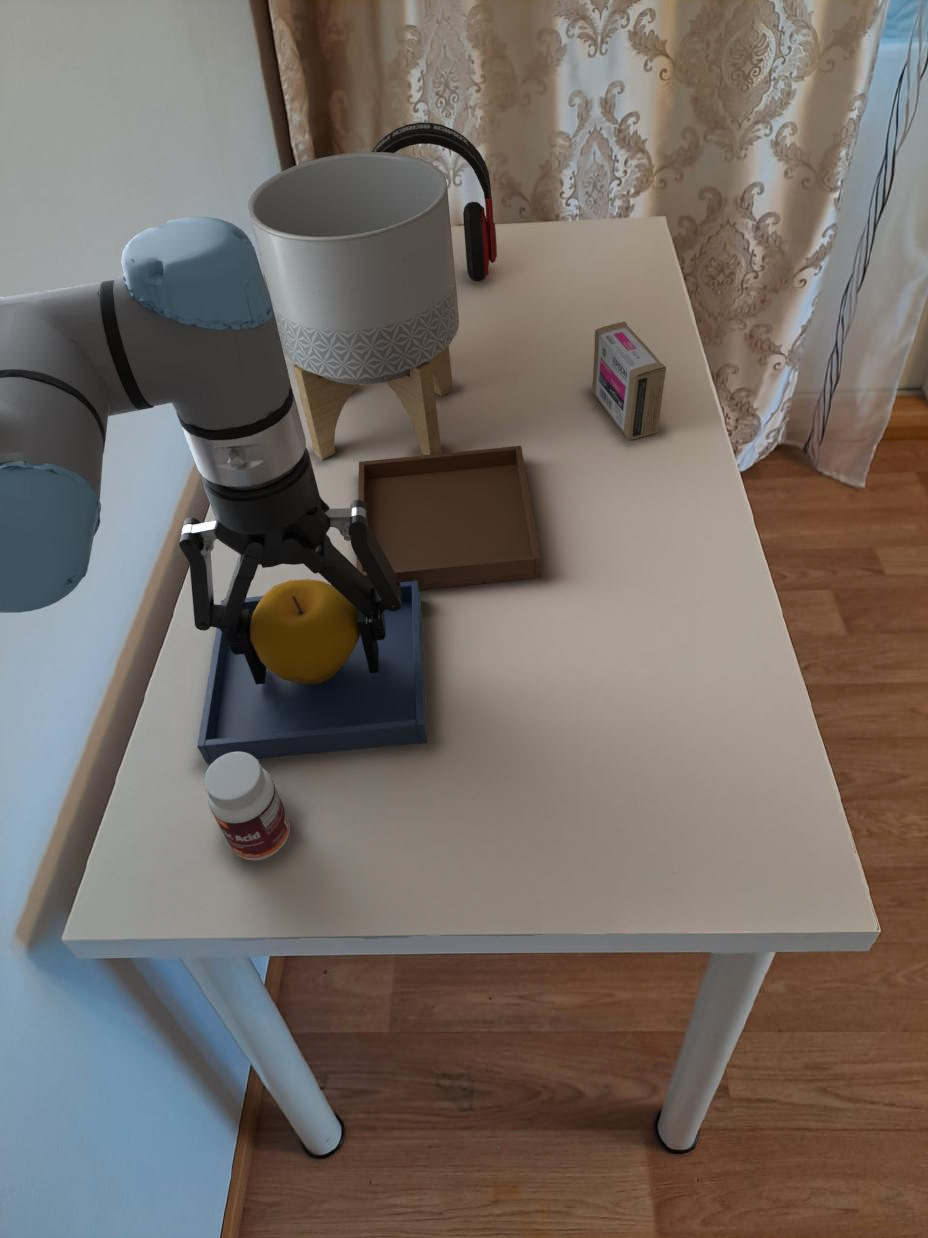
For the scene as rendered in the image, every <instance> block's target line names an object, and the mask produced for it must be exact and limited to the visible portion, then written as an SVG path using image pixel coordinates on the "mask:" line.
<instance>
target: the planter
mask: <svg viewBox="0 0 928 1238" xmlns="http://www.w3.org/2000/svg"><path fill="white" fill-rule="evenodd" d="M247 210H248V216H249V219H250V223H251V227H252V231H253V234H254V238H255V242H256V243H255V244H256V247H257V250H258V251H257V252H258V255H259V258H260V262H261V267H262V270H263V271H262V272H263V276H264V280H265V284H266V288H267V291H268V292H269V293H270V297H271V302H272V306H273V310H274V314H275V319H276V323H277V327H278V331H279V336H280V340H281V344H282V348H283V352H284V354H285V355H286V357H287V358H288V359H289V361H291V362H292V364H294V365H293V366H292V368H293V372H294V377H295V379H296V385H297V388H298V392H299V396H300V400H301V405H302V409H303V412H304V413H303V414H304V416H305V420H306V424H307V428H308V432H309V438H310V441H311V444H312V448H313V453H314V455H315V456H316V457H317V458H319V459H320V460H321V461H323V460H326V459H327V458H329V457H331V456H333V455H335V454H336V448H335V436H336V428H337V424H338V420H339V419H340V418H339V417H340V415H341V412H342V410H343V408H344V406H345V405H346V403H347V401H348V399H349V398H350V396H351V395H352V394H353V393H354V392H355V390H356V389H357V388H358V387H359V386H360V385H361V386H362V385H377V384H382V383H386V384H387V385H388V386H389V387H390V388H391V390H392V391H393V392H394V394H395V395H396V396H397V398H398V399H399V401H400V402H401V404H402V406H403V407H404V409H405V411H406V413H407V415H408V417H409V419H410V422H411V423H412V426H413V429H414V431H415V435H416V437H417V440H418V445H419V451H420V454H422V455H432V454H442V453H443V451H442V450H443V449H442V442H441V434H440V427H439V425H440V424H439V419H438V418H439V417H438V416H439V415H438V409H437V401H436V400H437V399H436V394H437V395H438V396H440V397H442V396H445V395H447V394H449V393H450V392H452V391H454V384H453V375H452V365H451V354H450V344H451V343H452V342H453V340H454V339H455V338H456V336H457V333H458V331H459V326H460V315H459V304H458V303H459V302H458V293H457V281H456V270H455V269H456V268H455V259H454V248H453V247H454V246H453V236H452V223H451V214H450V201H449V191H448V182H447V177H446V176H445V174H444V173H443V171H442V170H441V169H440V168H438V166H436V165H435V164H433V163H432V162H429V161H427V160H425V159H423V158H420V157H417V156H413V155H408V154H403V153H397V152H395V153H388V152H372V151H367V152H366V151H361V152H351V153H342V154H336V155H334V154H333V155H330V156H325V157H320V158H319V157H318V158H315V159H312V160H309V161H304V162H302V163H299V164H297V165H293V166H292V167H288V168H286V169H285V170H281V171H280V172H278V173H276V174H275V175H272V176H271V177H270V178H268V179H266V180H265V181H264V182H263V183H261V184H259V186H258V187H257V188H256V189H255V190H254V192H253V193H252V194H251V196H250V198H249V200H248V205H247Z"/></svg>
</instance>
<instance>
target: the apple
mask: <svg viewBox="0 0 928 1238" xmlns="http://www.w3.org/2000/svg"><path fill="white" fill-rule="evenodd" d="M263 596H264V597H263V598H262V599H261V600H260V602H259V603H258V605H257V607H256V609H255V610H254V612H253V615H252V619H251V623H250V626H249V633H250V640H251V642H252V644H253V646H254V648H255V650H256V653H257V655H258V657H259V659H260V661H261V662H262V663H263V664H264V665H265V666H266V667H267V669H268V670H269V671H271V672H272V673H274V674H276V675H277V676H279V677H280V678H282V679H284V680H287V681H291V682H296V683H300V684H320V683H322V682H324V681H326V680H328V679H330V678H331V677H332V676H334V675H335V674H336V673H337V672H338V670H339V669H340V668H341V667H342V666H343V665H344V664H345V663H346V661H347V660H348V658H349V656H350V655H351V653H352V652H353V650H354V648H355V646H356V644H357V642H358V640H359V637H360V631H359V627H358V623H357V619H358V611H357V609H356V607H355V606H354V605H353V604H352V603H351V602H349V601H348V600H347V599H346V598H345V597H344V596H343V595H342V594H341V593H340V592H339V591H338V590H337V589H335V588H334V587H333V586H332V585H331V584H330V583H329V582H325V581H322V580H316V579H311V578H308V579H307V578H305V579H292V580H291V579H289V580H287V581H284V582H282V583H279V584H276V585H274V586H273V587H272V588H271V589H269V590H268V591H267V592H266V593H265V594H264V595H263Z"/></svg>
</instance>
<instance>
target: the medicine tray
mask: <svg viewBox="0 0 928 1238" xmlns="http://www.w3.org/2000/svg"><path fill="white" fill-rule="evenodd" d="M523 453H524V452H523V448H522V445H513V446H503V447H502V446H501V447H492V448H481V449H471V450H463V451H462V450H461V451H451V452H442V454H432V455H423V454H422V455H412V456H403V457H393V458H392V457H391V458H383V459H374V460H364V461H363V460H361V461H359V462H358V481H357V483H358V484H357V485H358V486H357V487H358V488H357V500H361V501H363V502H365V503H366V505H367V520H368V525H369V526H370V528H371V530H372V532H373V534H374V536H375V538H376V539H377V541H378V543H379V545H380V547H381V549H382V550H383V552H384V554H385V556H386V558H387V560H388V561H389V563H390V565H391V567H392V569H393V571H394V572H395V574H396V576H397V578H398V580H399V582H410V581H411V582H412V581H418V585H419V591H420V590H429V589H430V590H431V589H441V588H450V587H460V586H461V587H462V586H470V585H471V586H473V585H481V584H490V583H500V582H501V583H503V582H511V581H521V580H533V579H540V578H542V556H541V551H540V544H539V539H538V532H537V527H536V522H535V516H534V510H533V504H532V498H531V494H530V493H531V492H530V488H529V483H528V477H527V471H526V466H525V465H526V464H525V460H524V459H525V458H524V454H523ZM356 568H357V569H358V570H359V571H360V572H361V573H362V574H363V575H364V576H365V577H366V578H367V579H368V580H369V581H370V579H369V577H368V575H367V574H366V572H365V570H364V568H363V567H362V565H361V563H360V561H359V560H358V558H357V557H356ZM370 582H371V581H370ZM371 583H372V582H371Z"/></svg>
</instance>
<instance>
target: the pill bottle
mask: <svg viewBox="0 0 928 1238" xmlns="http://www.w3.org/2000/svg"><path fill="white" fill-rule="evenodd" d="M203 780H204V781H203V784H204V788H205V791H206V793H207V802H208V807H209V810H210V812H211V813H212V815H213V817H214V819H215V822H216V823H217V824H218V827H219V829H220V831H221V833H222V834H223V836H224V838H225V839H226V841H227V843H228V845H229V846H230V848H231V851H233V853H234V854H235V855H236V856H238V857H240V858H241V859H244V860H248V861H261V860H265V859H267V858H270V857H272V856H274V855H275V854H277V853H278V852H279V851H280V850H281V849H283V847H284V846H285V844H286V843H287V841H288V839H289V837H290V833H291V823H290V822H291V821H290V818H289V816H288V813H287V811H286V809H285V806H284V804H283V801H282V799H281V797H280V794H279V792H278V789H277V787H276V784H275V782H274V779H273V777H272V775H271V774H270V773H269V772H268V771H267V770H266V769H265V768H263V767H262V765H261V764H260V762H259V759H256V758H255V757H254V756H252V755H251V754H248V753H245V752H231V753H227V754H225V755H222V756H221V757H219V758H218V759H216V760H215V761H214V762H213V763H212V764H209V766H208V768H206V771H205V774H204V779H203Z"/></svg>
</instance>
